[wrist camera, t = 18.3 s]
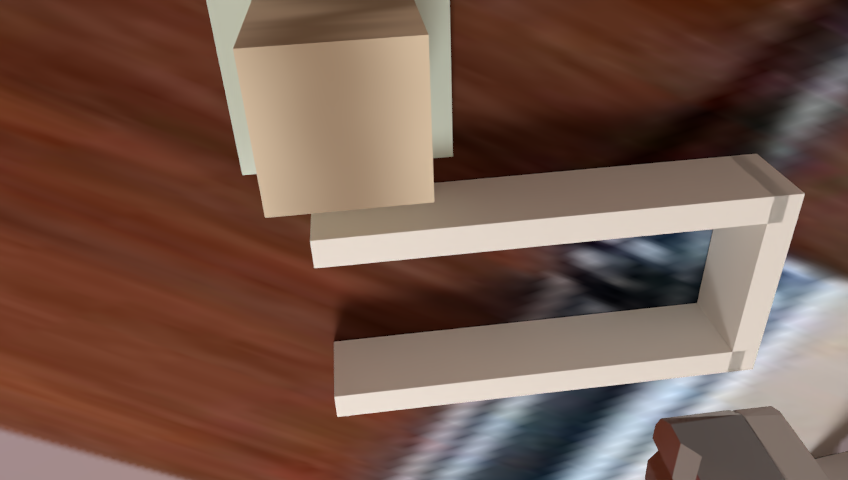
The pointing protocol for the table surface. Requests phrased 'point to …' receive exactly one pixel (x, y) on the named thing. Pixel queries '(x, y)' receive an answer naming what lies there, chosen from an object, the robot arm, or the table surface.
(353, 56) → the maple block
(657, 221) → the frame
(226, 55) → the tile
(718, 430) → the robot arm
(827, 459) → the pale grey flat box
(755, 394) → the table surface
